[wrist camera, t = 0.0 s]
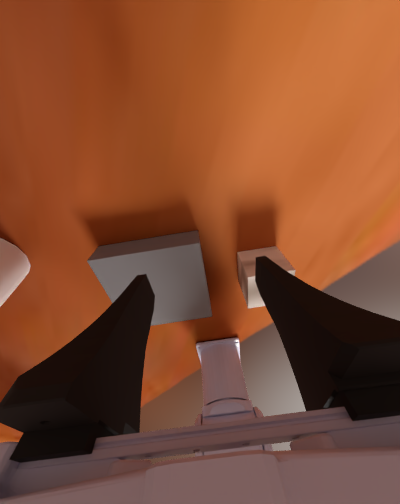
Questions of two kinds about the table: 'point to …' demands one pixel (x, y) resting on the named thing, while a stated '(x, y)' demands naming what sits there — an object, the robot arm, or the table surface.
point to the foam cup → (11, 268)
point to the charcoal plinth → (158, 274)
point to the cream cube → (248, 272)
